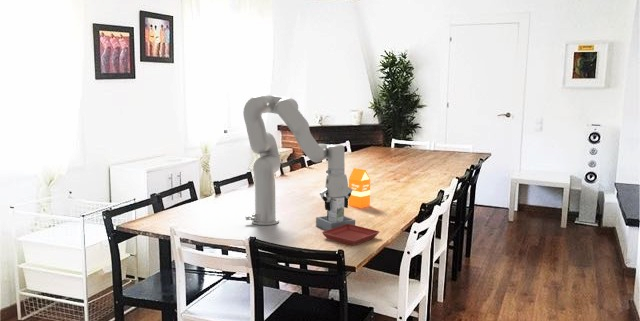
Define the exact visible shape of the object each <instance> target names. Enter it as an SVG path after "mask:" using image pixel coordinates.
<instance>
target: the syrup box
mask: <svg viewBox="0 0 640 321" xmlns="http://www.w3.org/2000/svg"><path fill="white" fill-rule="evenodd" d="M329 202H330V211H328V210H326V216H327V221H329V222H331V223H334V222H341V221H344V216H345V207H344V197H336V198H331V199H330V201H329Z"/></svg>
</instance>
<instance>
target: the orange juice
mask: <svg viewBox="0 0 640 321" xmlns="http://www.w3.org/2000/svg"><path fill="white" fill-rule="evenodd" d="M348 187H350V188H352V189H353V191H352V193H351V196H350V197H349V199H348V206H349V207H350V206H351V207H354V208H355V207H356V208H359V209H362V208H365V207H366V208H367V207H370V204H371V178H370V176H369V174H368V172H367V170H366V169H362V168H356V167H354V168H353V169H352V171H351V173H350V175H349V178H348Z"/></svg>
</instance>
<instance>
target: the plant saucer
mask: <svg viewBox="0 0 640 321" xmlns="http://www.w3.org/2000/svg"><path fill="white" fill-rule="evenodd" d="M321 233H322V235H323V236H324V237H325V238H326V239H328V240H332V241H336V242H340V243H342V244H347V245H350V246H356V245H358V244H361V243H365V242H367V241H369V240H373V239H375V237H376V236H377V235H378V234H379V233H380V231H379V230H376V229H372V228H367V227H363V226H359V225H356V224H355V225H351V224H346V225H342V226H339V227H336V228H333V229H330V230H324V231H322V232H321Z"/></svg>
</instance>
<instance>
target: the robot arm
mask: <svg viewBox="0 0 640 321" xmlns="http://www.w3.org/2000/svg"><path fill="white" fill-rule="evenodd" d="M265 113H267V114H268V113H269V114H270V113H271V114H275V115H278V116H279V118H280V119H281V120H282V121H283V122H284V124H285V125H286V126H287V127H288V129H289V130H290V132H291V133H292V134H293V136H294V139H295V141H296V143H297V144H298V147H300V149H301V150H302V152H303V153H304V155H306V157H307V158H308V159H309V160H310V161H312V162H314V163H320V162H323V161H324V160H327V170H326V171H325V173H326V174H327V175H326V178H325V179H326V180H325V189H323V190H322V191H320V192H319V196H320V197H321V199H322V200H323V202H324V209H325V211H327V210H328V211H330V202H329V201H330V199H331V198H336V197H344V209H348V208H349V197H350V196H351V193H352V191H353V189H352V188H350V187H349V180H348V177H347V174H346V173H345V168H346V167H345V166H346V165H345V146H344V145H342V144H326V143H318V142H317V141H316V139H315V138H314V137H313V135H312V134H311V130H310V124H309V122H308V120H307V119H306V118H305V116H303V114H302V113H301V111H300V110H299V104H298V102H297V101H296V100H295V99H294V98H292V97H286V96H277V95H273V94H258V95H254V96H253V97H250V98H249V99H248V100H247V101H246V103H245V105H244V107H243V120H244V123H245V128H246V132H247V137H248V142H249V146H250V148H251V151H252V152H253V153H254V154H257V155H259V157H257V159H256V160H255V161H254V164H253V170H252V171H253V178H254V203H255V204H254V210H255V211H254V212H253V213H252V214H251V215H246V216H245V221H251V222H252V224H254V225H258V226H272V225H277V224H278V223H279V222H280V220H279V218H278V217H276V180H275V179H276V178H275V173H276V172H278V171H279V169H280V168H281V164H282V163H281V158H280V153H279V149H278V145H277V141H276V138H275V136H274V135H273V134H271V132H268V131H267V130H266V126H265V122H264V119H263V117H262V116H263V115H262V114H265Z"/></svg>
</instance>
